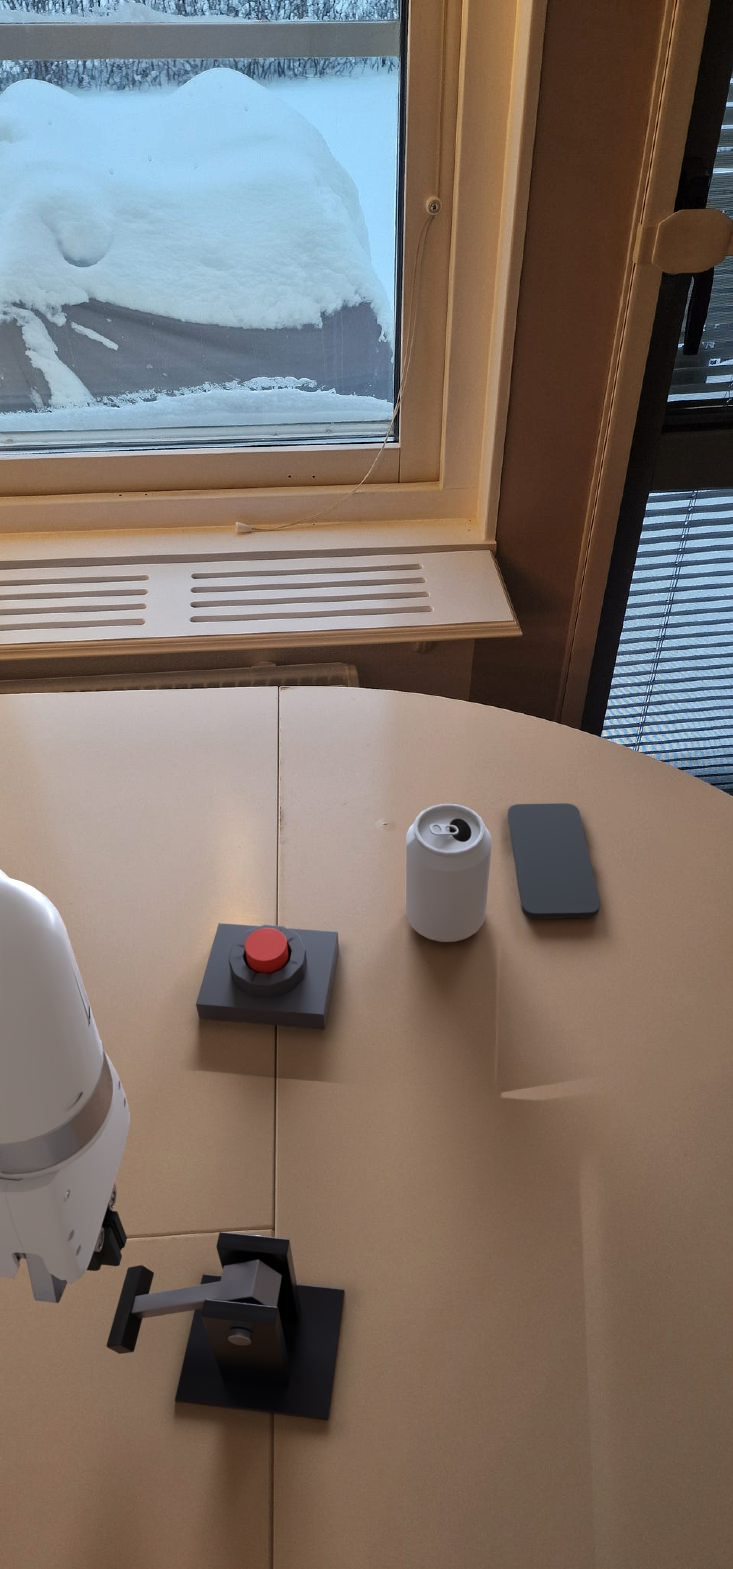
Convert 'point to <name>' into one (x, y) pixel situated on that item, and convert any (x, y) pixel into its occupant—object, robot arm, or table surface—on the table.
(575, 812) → the phone
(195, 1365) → the bracket
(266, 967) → the button
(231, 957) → the button block
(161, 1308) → the lever
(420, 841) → the can
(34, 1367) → the table surface
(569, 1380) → the table surface
